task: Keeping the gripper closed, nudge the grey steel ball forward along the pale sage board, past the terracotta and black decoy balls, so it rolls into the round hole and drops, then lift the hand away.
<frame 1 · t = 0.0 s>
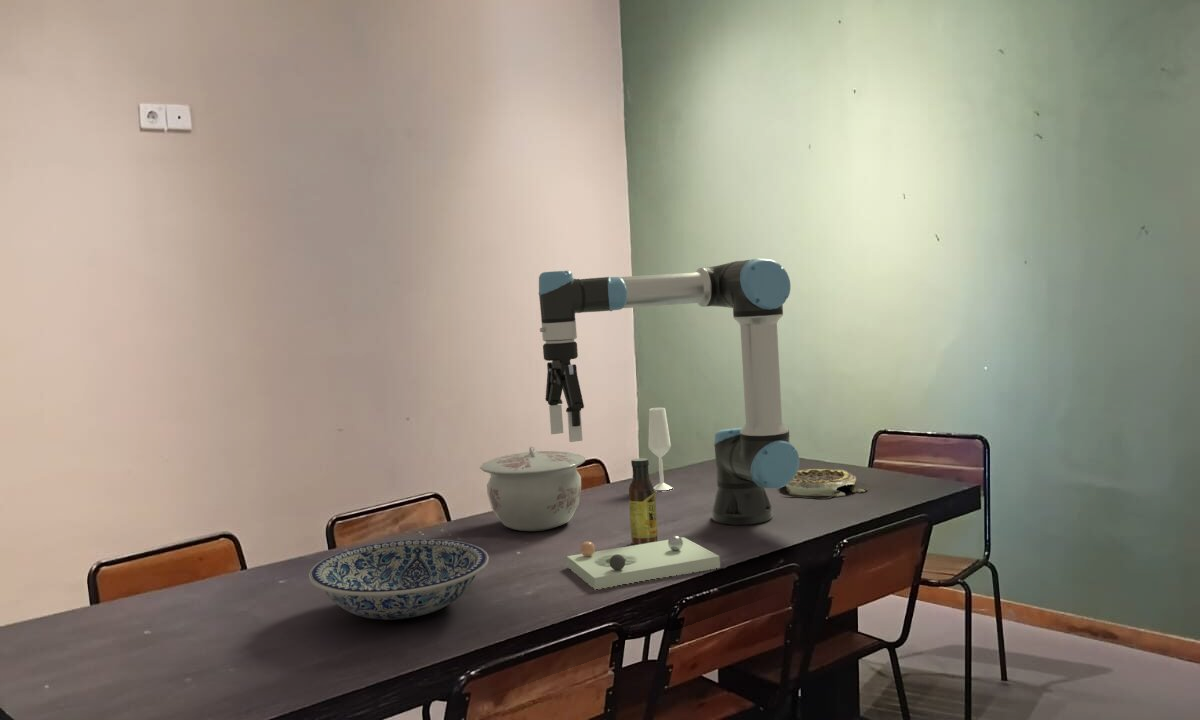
hand: (566, 437, 211), 28 cm above the table, tool pointing down, fingers open, 13 cm apart
chamber pot: (538, 525, 249), on the table
pie: (818, 490, 270), on the table
ceramic bowl: (404, 611, 187), on the table
sauce bottle: (645, 543, 224), on the table
steel ball: (675, 543, 207), point 4 cm above the table, touching board
champagne flute: (662, 489, 282), on the table
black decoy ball: (617, 562, 195), point 4 cm above the table, touching board
board: (642, 567, 204), on the table
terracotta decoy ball: (587, 548, 207), point 4 cm above the table, touching board
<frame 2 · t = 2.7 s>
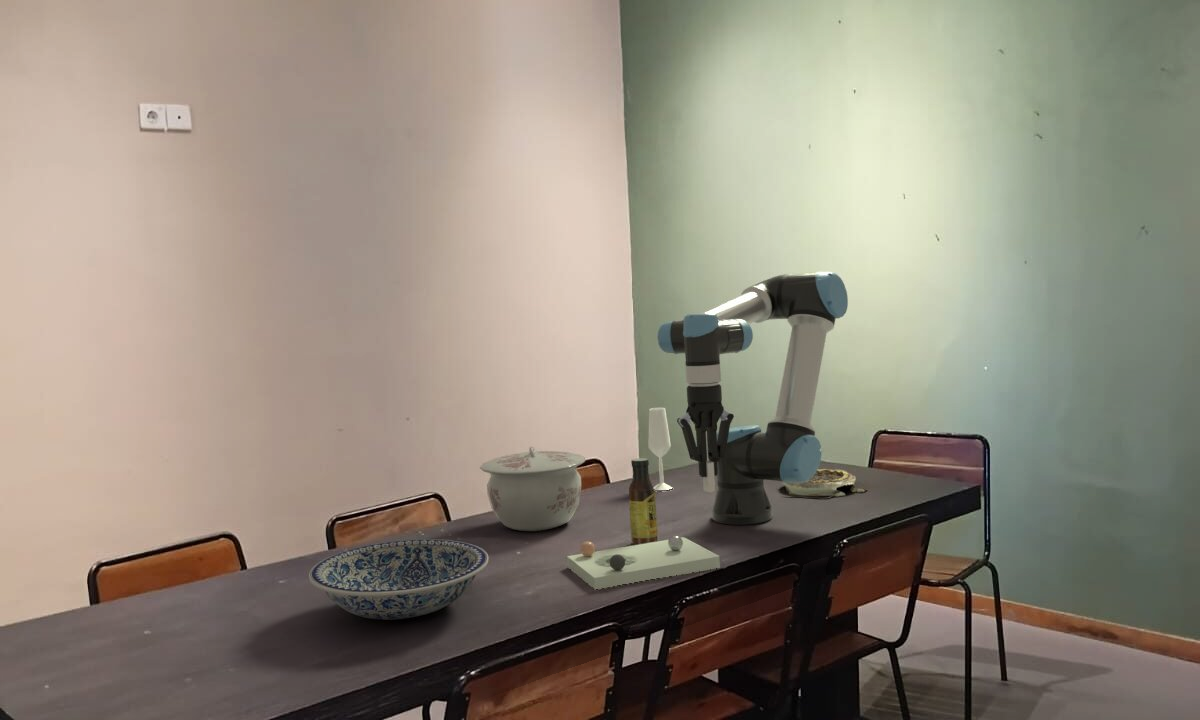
hand: (709, 490, 209), 14 cm above the table, tool pointing down, fingers closed
nothing on the table moved.
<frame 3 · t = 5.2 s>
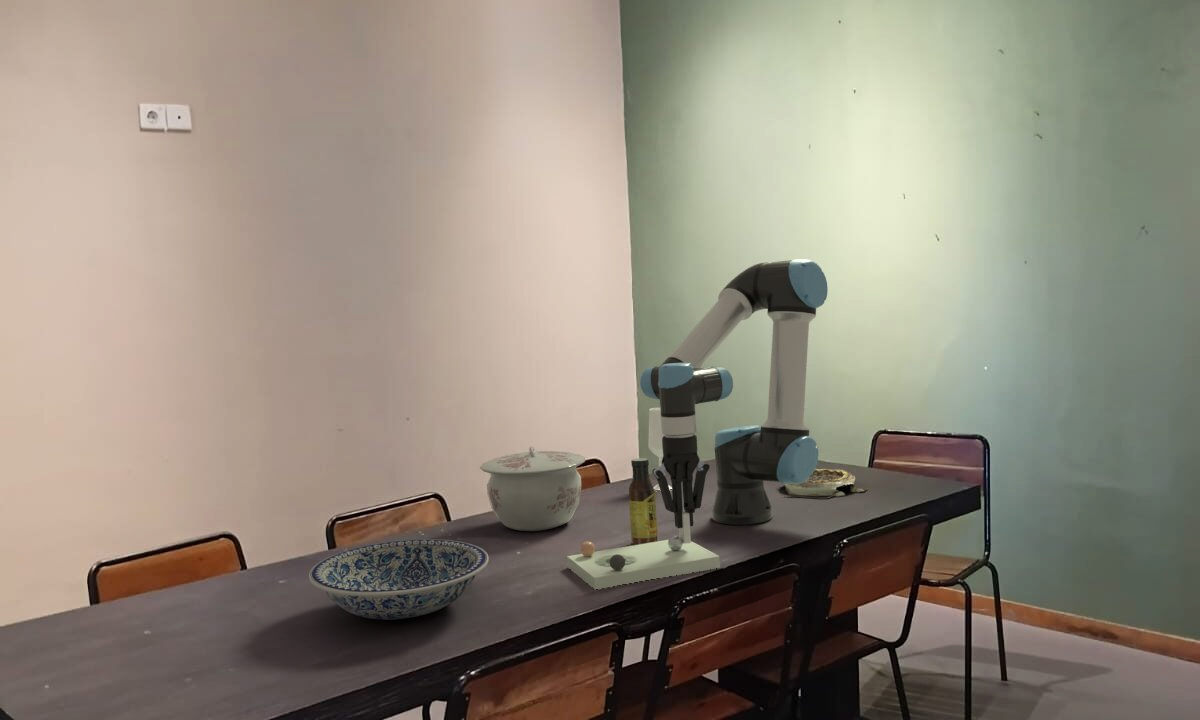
hand: (685, 541, 207), 4 cm above the table, tool pointing down, fingers closed
steel ball: (675, 543, 207), point 4 cm above the table, touching board, gripper
everything else where it was.
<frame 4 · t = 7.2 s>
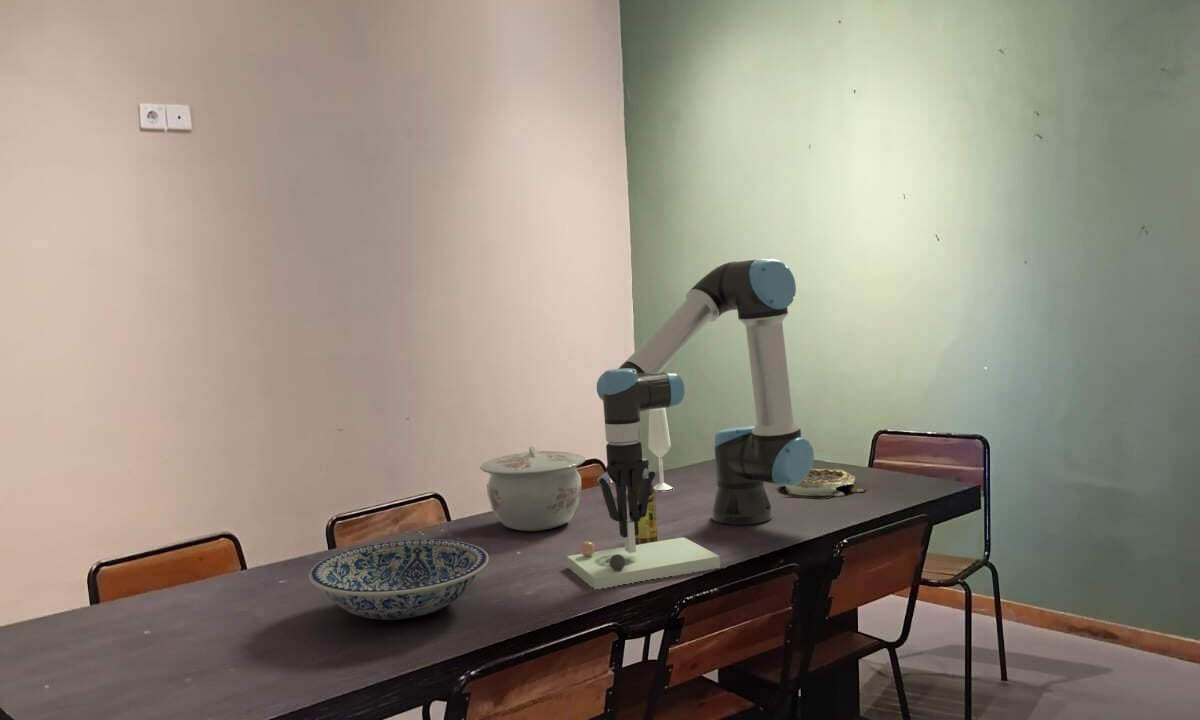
hand: (630, 551, 203), 4 cm above the table, tool pointing down, fingers closed
steel ball: (614, 565, 202), point 2 cm above the table, tilted 155°
everything else where it was.
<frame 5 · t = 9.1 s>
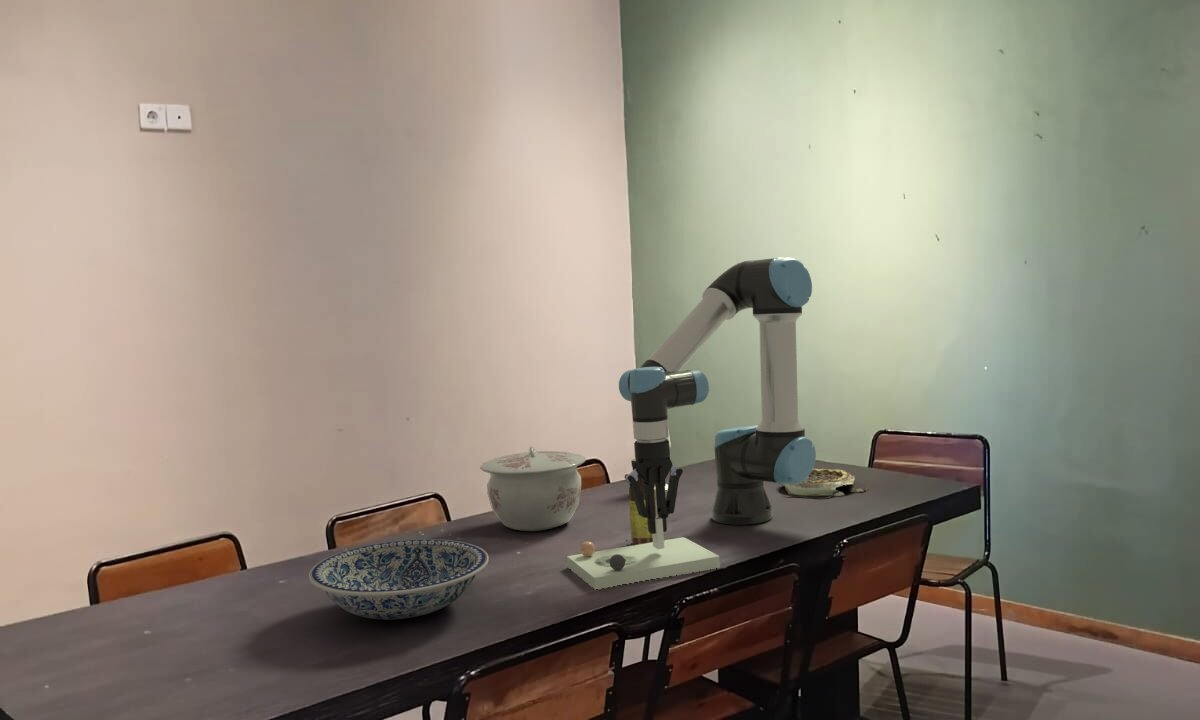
hand: (658, 547, 206), 4 cm above the table, tool pointing down, fingers closed
steel ball: (619, 564, 202), point 2 cm above the table, tilted 142°
everything else where it was.
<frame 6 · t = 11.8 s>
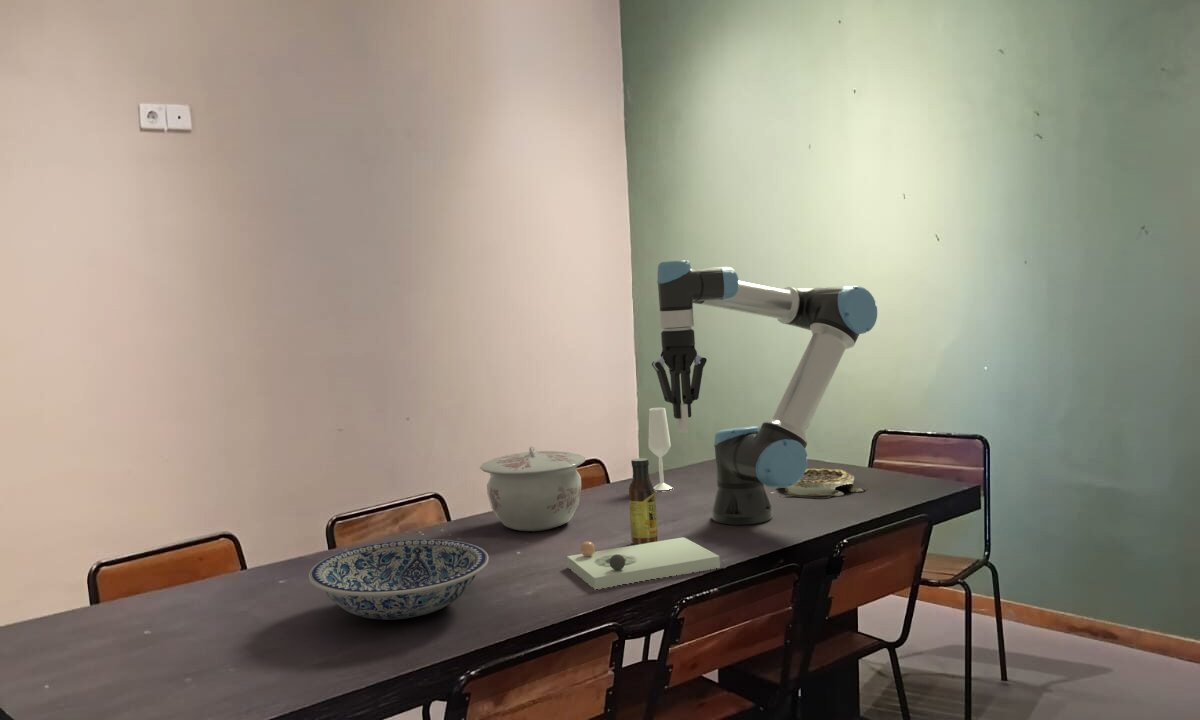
hand: (683, 432, 217), 26 cm above the table, tool pointing down, fingers closed
steel ball: (617, 564, 202), point 2 cm above the table, tilted 150°
everything else where it was.
at the end: steel ball 0.3 cm from the target spot in the board, point 1.6 cm above the board's base; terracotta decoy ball moved 0.0 cm from its start; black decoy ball moved 0.0 cm from its start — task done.
